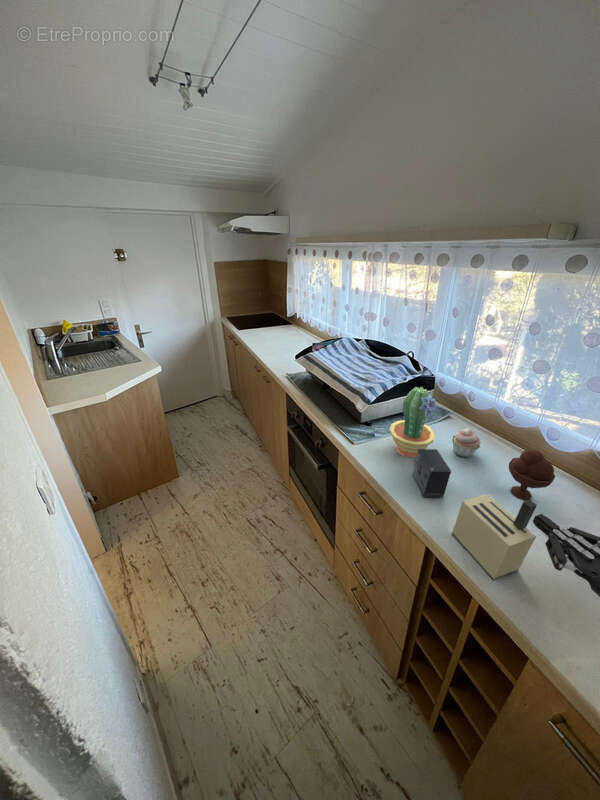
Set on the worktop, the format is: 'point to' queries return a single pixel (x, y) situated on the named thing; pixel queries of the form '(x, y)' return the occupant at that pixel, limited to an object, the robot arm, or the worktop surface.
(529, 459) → the ice cream bowl
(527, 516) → the slider
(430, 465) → the small box
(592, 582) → the robot arm
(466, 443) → the cupcake
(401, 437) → the potted cactus
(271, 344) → the worktop surface
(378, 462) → the worktop surface
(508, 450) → the worktop surface
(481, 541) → the toaster
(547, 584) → the worktop surface
